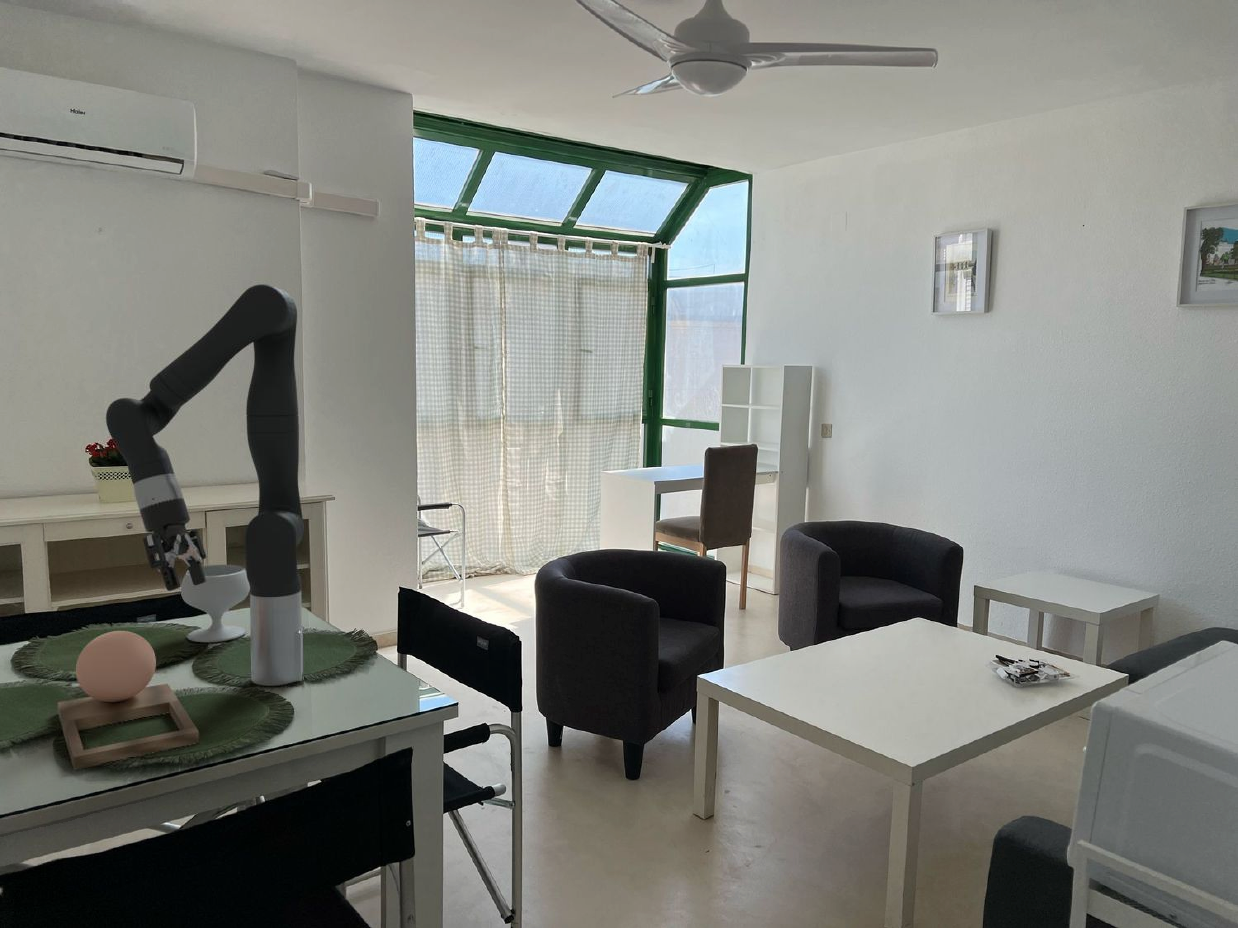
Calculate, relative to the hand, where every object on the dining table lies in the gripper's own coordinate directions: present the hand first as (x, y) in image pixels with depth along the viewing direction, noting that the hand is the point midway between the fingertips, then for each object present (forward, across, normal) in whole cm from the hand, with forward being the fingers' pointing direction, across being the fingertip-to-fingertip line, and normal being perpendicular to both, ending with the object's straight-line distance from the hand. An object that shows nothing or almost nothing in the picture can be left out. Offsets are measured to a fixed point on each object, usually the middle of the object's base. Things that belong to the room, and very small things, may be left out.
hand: (187, 586), depth 159 cm
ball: (+10, -9, +11) cm, 17 cm away
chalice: (+11, +35, +17) cm, 40 cm away
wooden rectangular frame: (+20, -15, +8) cm, 26 cm away
